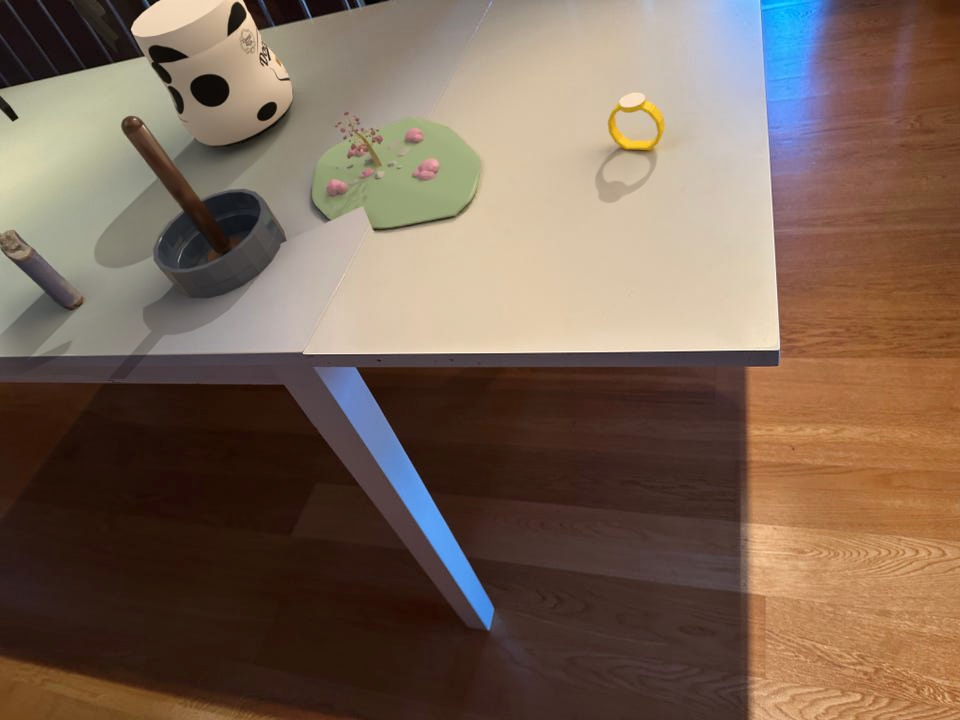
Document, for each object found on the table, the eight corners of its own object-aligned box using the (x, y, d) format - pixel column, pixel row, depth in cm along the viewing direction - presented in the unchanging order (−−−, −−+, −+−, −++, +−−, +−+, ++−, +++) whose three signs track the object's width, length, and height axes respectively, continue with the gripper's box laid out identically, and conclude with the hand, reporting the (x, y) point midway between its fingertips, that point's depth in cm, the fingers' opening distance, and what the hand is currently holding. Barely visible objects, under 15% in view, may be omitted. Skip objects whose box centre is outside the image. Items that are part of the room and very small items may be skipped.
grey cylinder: (88, 300, 85) (22, 237, 77) (68, 315, 84) (0, 254, 76) (62, 276, 91) (-1, 215, 83) (44, 290, 90) (-23, 230, 82)
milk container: (322, 92, 104) (264, -29, 90) (256, 162, 96) (181, 41, 82) (245, 89, 112) (181, -22, 98) (178, 154, 104) (98, 42, 90)
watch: (668, 141, 74) (665, 93, 70) (660, 157, 73) (656, 108, 68) (617, 137, 77) (611, 90, 72) (608, 152, 76) (602, 105, 71)
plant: (525, 134, 82) (508, 66, 75) (436, 248, 73) (408, 182, 67) (374, 118, 95) (348, 57, 88) (282, 213, 86) (245, 154, 79)
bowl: (186, 326, 77) (154, 291, 72) (181, 257, 86) (152, 221, 81) (298, 275, 77) (272, 236, 72) (280, 211, 86) (257, 173, 82)
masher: (216, 281, 79) (102, 139, 64) (213, 257, 82) (103, 117, 68) (254, 263, 79) (149, 118, 64) (250, 240, 82) (149, 96, 68)
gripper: (31, -104, 78) (164, 39, 80) (-178, 4, 70) (-23, 159, 73) (9, -159, 71) (155, 0, 73) (-227, -46, 63) (-54, 127, 65)
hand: (67, 79), depth 73 cm, fingers open, 13 cm apart
